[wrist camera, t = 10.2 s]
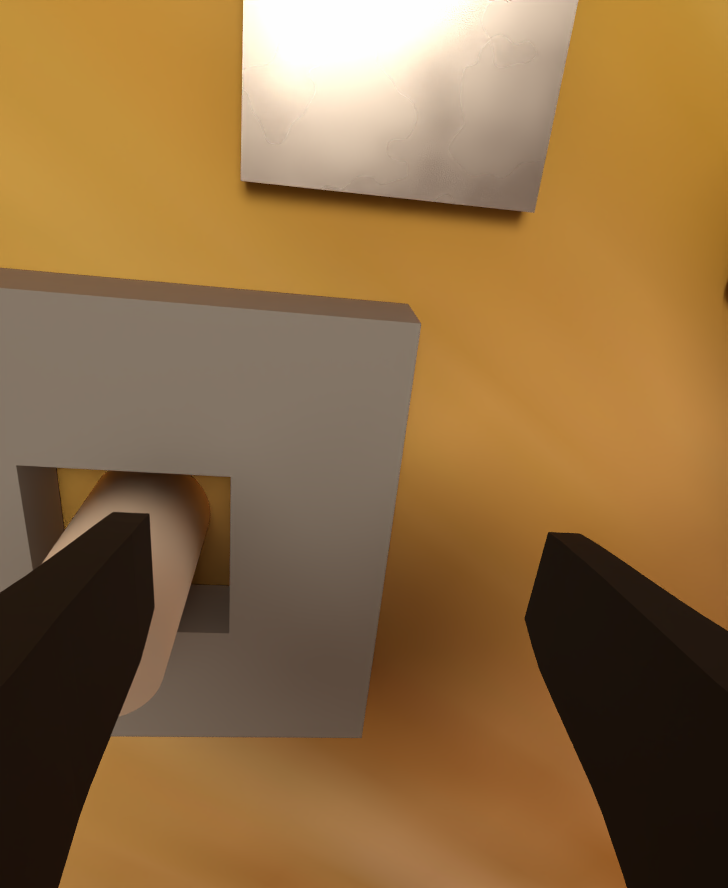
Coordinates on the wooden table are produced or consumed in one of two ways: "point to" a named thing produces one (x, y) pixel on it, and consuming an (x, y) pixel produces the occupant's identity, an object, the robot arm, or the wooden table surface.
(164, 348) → the hole plate
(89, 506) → the peg
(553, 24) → the square grey metal plate
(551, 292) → the wooden table surface
